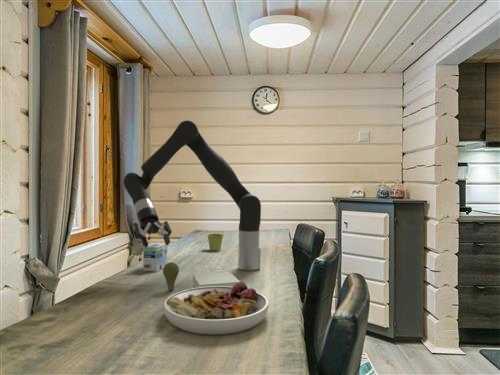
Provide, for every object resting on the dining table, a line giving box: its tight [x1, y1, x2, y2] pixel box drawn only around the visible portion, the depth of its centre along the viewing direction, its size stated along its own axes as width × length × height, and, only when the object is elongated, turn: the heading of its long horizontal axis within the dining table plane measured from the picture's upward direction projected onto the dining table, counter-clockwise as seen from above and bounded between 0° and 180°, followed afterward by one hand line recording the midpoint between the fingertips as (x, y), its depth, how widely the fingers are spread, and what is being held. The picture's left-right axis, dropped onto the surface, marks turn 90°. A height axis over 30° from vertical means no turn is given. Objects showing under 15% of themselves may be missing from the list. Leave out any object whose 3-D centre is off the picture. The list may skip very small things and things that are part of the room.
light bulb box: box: [142, 242, 168, 273], centre depth 163 cm, size 11×7×11 cm, turn 168°
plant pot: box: [206, 233, 224, 252], centre depth 208 cm, size 9×9×9 cm
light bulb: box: [162, 262, 180, 292], centre depth 132 cm, size 6×6×10 cm
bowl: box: [163, 281, 269, 336], centre depth 108 cm, size 30×30×8 cm
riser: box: [192, 271, 241, 288], centre depth 131 cm, size 14×14×5 cm
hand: (157, 245), depth 141 cm, fingers open, 8 cm apart
